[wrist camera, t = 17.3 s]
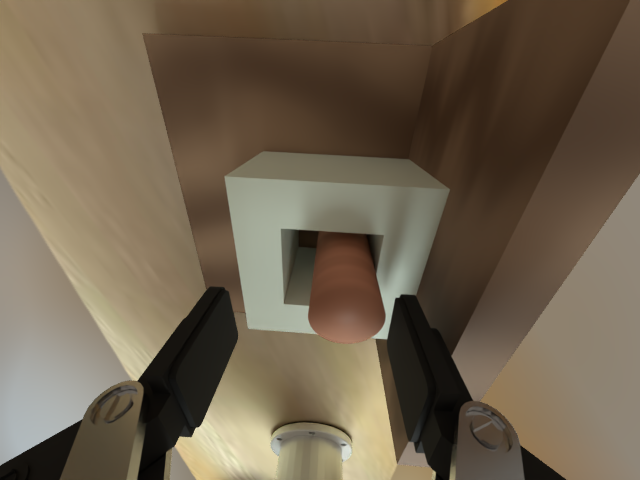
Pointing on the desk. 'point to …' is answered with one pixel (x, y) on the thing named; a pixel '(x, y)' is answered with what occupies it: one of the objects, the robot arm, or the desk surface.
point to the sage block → (327, 227)
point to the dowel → (345, 289)
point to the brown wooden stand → (431, 151)
